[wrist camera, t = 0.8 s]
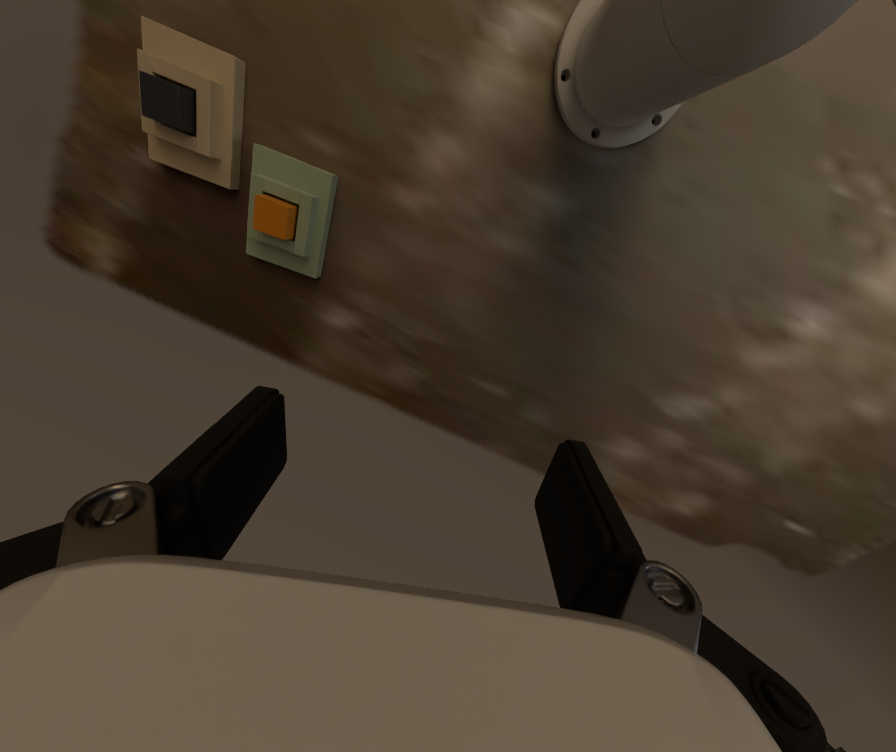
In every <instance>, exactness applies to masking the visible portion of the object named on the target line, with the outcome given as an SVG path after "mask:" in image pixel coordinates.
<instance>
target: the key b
mask: <svg viewBox="0 0 896 752" xmlns="http://www.w3.org/2000/svg"><path fill="white" fill-rule="evenodd" d="M297 211H298V207H297V206H295V205H292V204H290V203H287V202H284V201H282V200H279V199H277V198H274V197H271V196H269V195H261V194H255V202H254V216H253V229H255V230H258V231H260V232H263V233H266V234H269V235H271V236H274V237H277V238H279V239H282V240H288V239H293V238H294V234H295V226H296V219H297Z"/></svg>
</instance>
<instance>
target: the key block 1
mask: <svg viewBox="0 0 896 752" xmlns="http://www.w3.org/2000/svg"><path fill="white" fill-rule="evenodd" d="M141 27H142V45H143V51H142V50H140V49H137V59H138V74H139V70H141V71H143V72H146V73H148V74H151V75H153V76H156V77H158V78H160V79H163V80H165V81H168V82H170V83H173V84H175V85H177V86H180V87H182V88H185V89H187V90H189V91H192V92H194V93H196V134H193V133H189V132H185V131H181V130H178V129H176V128H173V127H170V126H168V125H165V124H163V123H160V122H158V121H155V120H153V119H150V118H148V117H145V116H143V115H142V111H141V121H142V131H143V132H146V133H148V148H149V159H152V160H154V161H157V162H159V163H162V164H165V165H167V166H170V167H172V168H175V169H178V170H180V171H183V172H185V173H188V174H191V175H193V176H196V177H199V178H201V179H204V180H206V181H209V182H212V183H214V184H217V185H219V186H222V187H225V188H227V189H232V190H239V185H240V166H241V147H242V129H243V110H244V91H245V72H246V63H244V62H243V61H241V60H240V59H238V58H237V57H235V56H233V55H230V54H228V53H226V52H223V51H221V50H219V49H217V48H214V47H212V46H210V45H207V44H205V43H203V42H200V41H198V40H196V39H194V38H191V37H189V36H187V35H184V34H182V33H180V32H177V31H175V30H173V29H171V28H168V27H166V26H164V25H161V24H159V23H157V22H154V21H152V20H150V19H148V18H145V17H143V16H141ZM139 90H140V80H139ZM140 105H141V96H140Z"/></svg>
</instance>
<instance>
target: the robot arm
mask: <svg viewBox="0 0 896 752" xmlns="http://www.w3.org/2000/svg"><path fill="white" fill-rule="evenodd" d="M857 1H858V0H580V2H579V3H578V5H577V6H576V8H575V10H574V11H573V13H572V15H571V17H570V19H569V21H568V22H567V24H566V27H565V30H564V32H563V35H562V37H561V40H560V43H559V47H558V52H557V56H556V61H555V72H554V84H555V95H556V99H557V104H558V108H559V110H560V113H561V115H562V117H563V120H564V122H565V123H566V124H567V126H568V127H569V129H570V130H571V132H573V133H574V134H575V135H576V136H577V137H578V138H579V139H580V140H582V141H584V142H586V143H588V144H589V145H592V146H596V147H600V148H619V147H624V146H628V145H631V144H633V143H636V142H639V141H641V140H642V139H644V138H646V137H648V136H650V135H652V134H653V133H654V132H656V131H657V130H658V129H660V128H661V127H662V126H663V125H664V124H665V123H666V122H667V121H668V120H669V119H670V118H671V117H672V116H673V115H674V114H675V113H676V111H677V110H678V109H679V107H680V106H681V105H682V103H683V102H684V101H686V100H689V99H691V98H693V97H695V96H697V95H700V94H702V93H704V92H706V91H708V90H711V89H713V88H715V87H717V86H720V85H722V84H724V83H726V82H728V81H731V80H733V79H735V78H737V77H740V76H742V75H744V74H746V73H748V72H751V71H753V70H755V69H757V68H759V67H761V66H763V65H765V64H768V63H770V62H772V61H774V60H776V59H779V58H781V57H783V56H785V55H787V54H788V53H790V52H792V51H794V50H796V49H797V48H799V47H801V46H802V45H804V44H806V43H807V42H808V41H810V40H811V39H813V38H814V37H816V36H817V35H818V34H820V33H821V32H822V31H824V30H825V29H826V28H828V27H829V26H830V25H831V24H833V23H834V22H835V21H836V20H837V19H838V18H840V17H841V16H842V15H843V14H844V13H845V12H846V11H847V10H848V9H849V8H850V7H851V6H852V5H853V4H854V3H855V2H857ZM892 1H893V3H894V5H895V6H896V0H892ZM561 76H565V78H566V80H565V81H562V80H561ZM652 119H654V124H652ZM592 132H594V133H595V136H594V138H593V137H591V133H592ZM286 460H287V446H286V426H285V405H284V396H283V395H282V394H279V391H278V390H277V389H274V388H268V387H263V386H257V387H256V388H255V389H253V390H252V391H251V392H250V393H249V394H248V395H247V396H246V397H244V398H243V399H242V400H241V401H240V402H239V403H238V404H237V405H236V406H234V407H233V408H232V409H231V410H230V411H229V412H228V413H227V414H226V415H225V416H223V417H222V418H221V419H220V420H219V421H218V422H217V423H215V424H214V425H212V426H211V427H210V428H209V429H208V430H207V431H206V432H205V433H203V434H202V435H201V436H200V437H199V438H198V439H197V440H196V441H195V442H194V443H192V444H191V445H190V446H189V447H188V448H187V449H186V450H184V451H183V452H182V453H181V454H180V455H179V456H178V457H177V458H175V459H174V460H173V461H172V462H171V463H170V464H169V465H168V466H166V467H165V468H164V469H163V470H162V471H161V472H160V473H159V474H158V475H156V476H155V477H154V478H153V479H152V480H151V481H150V482H149V483H143V482H139V481H125V482H119V483H114V484H111V485H108V486H105V487H102V488H99V489H97V490H95V491H93V492H91V493H89V494H87V495H86V496H84V497H83V498H81V499H80V500H79V501H77V502H76V503H75V504H74V505H73V506H72V507H71V508H70V509H69V510H68V512H67V514H66V517H65V519H64V522H61V523H58V524H55V525H52V526H49V527H46V528H42V529H40V530H36V531H33V532H30V533H27V534H24V535H21V536H18V537H15V538H12V539H10V540H6V541H3V542H0V752H845V751H844V749H842V748H841V747H839V748H837V749H834V748H833V747H832V746H831V745H830V744H829V743H828V742H827V739H826V735H825V730H824V728H823V726H822V725H821V722H820V720H819V718H818V717H817V715H816V713H815V712H814V711H813V709H812V708H811V706H810V705H809V703H808V702H807V701H806V700H805V699H804V698H803V696H802V695H801V694H800V693H799V692H798V691H797V690H796V689H795V688H794V687H793V686H792V685H791V684H790V683H788V682H787V681H786V680H785V679H784V678H783V677H782V676H780V675H779V674H778V673H776V672H775V671H774V670H773V669H771V668H770V667H769V666H767V665H766V664H765V663H764V662H762V661H761V660H760V659H758V658H757V657H756V656H755V655H753V654H752V653H751V652H749V651H748V650H747V649H745V648H744V647H743V646H742V645H740V644H739V643H738V642H737V641H735V640H734V639H733V638H731V637H730V636H729V635H728V634H726V633H725V632H724V631H722V630H721V629H720V628H719V627H717V626H716V625H715V624H713V623H712V622H711V621H710V620H708V619H707V618H706V617H704V616H703V615H702V603H701V601H700V598H699V596H698V594H697V592H696V591H695V589H694V588H693V587H692V585H691V584H690V583H689V582H688V581H687V580H686V579H685V578H684V577H683V576H682V575H681V574H680V573H678V572H677V571H676V570H675V569H673V568H671V567H669V566H668V565H666V564H664V563H661V562H658V561H651V560H648V561H647V560H646V558H645V556H644V555H643V553H642V549H641V547H640V545H639V543H638V542H637V540H636V538H635V536H634V534H633V532H632V530H631V528H630V527H629V525H628V523H627V521H626V519H625V517H624V515H623V513H622V511H621V510H620V508H619V506H618V504H617V502H616V500H615V498H614V496H613V494H612V493H611V491H610V489H609V487H608V485H607V483H606V481H605V479H604V478H603V476H602V474H601V472H600V470H599V468H598V466H597V464H596V462H595V461H594V459H593V457H592V455H591V453H590V451H589V449H588V447H587V446H586V444H585V443H584V442H579V441H573V440H566V441H565V442H564V443H560V444H559V445H558V448H557V450H556V452H555V454H554V457H553V459H552V461H551V464H550V466H549V468H548V470H547V473H546V475H545V477H544V480H543V482H542V484H541V486H540V489H539V491H538V494H537V496H536V499H535V510H536V514H537V517H538V522H539V526H540V530H541V534H542V538H543V542H544V546H545V550H546V554H547V558H548V562H549V566H550V570H551V574H552V578H553V582H554V586H555V590H556V594H557V598H558V602H559V605H560V608H557V607H550V606H544V605H539V604H532V603H525V602H518V601H512V600H505V599H498V598H491V597H484V596H477V595H471V594H464V593H458V592H451V591H443V590H437V589H430V588H423V587H415V586H408V585H402V584H394V583H388V582H381V581H374V580H366V579H359V578H352V577H345V576H338V575H331V574H323V573H316V572H308V571H301V570H294V569H287V568H279V567H272V566H264V565H257V564H249V563H241V562H232V561H223V560H222V559H223V558H224V556H225V555H226V553H227V552H228V550H229V549H230V548H231V546H232V545H233V543H234V542H235V540H236V539H237V537H238V536H239V534H240V533H241V531H242V530H243V528H244V527H245V525H246V524H247V522H248V521H249V519H250V518H251V516H252V515H253V513H254V512H255V510H256V509H257V507H258V506H259V504H260V502H261V501H262V500H263V498H264V497H265V495H266V494H267V492H268V491H269V489H270V488H271V486H272V485H273V483H274V482H275V480H276V479H277V477H278V476H279V474H280V473H281V471H282V470H283V468H284V466H285V464H286Z"/></svg>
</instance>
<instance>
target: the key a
mask: <svg viewBox="0 0 896 752" xmlns="http://www.w3.org/2000/svg"><path fill="white" fill-rule="evenodd" d="M139 80H140V96H141V111H142V115H143V116H145V117H148V118H150V119H153V120H155V121H158V122H160V123H163V124H165V125H168V126H170V127H173V128H176V129H178V130H181V131H185V132H189V133H193V134H196V93H194V92H192V91H189V90H187V89H185V88H182V87H180V86H177V85H175V84H173V83H170V82H168V81H165V80H163V79H160V78H158V77H156V76H153V75H151V74H148V73H146V72H143V71H141V70H139Z"/></svg>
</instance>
